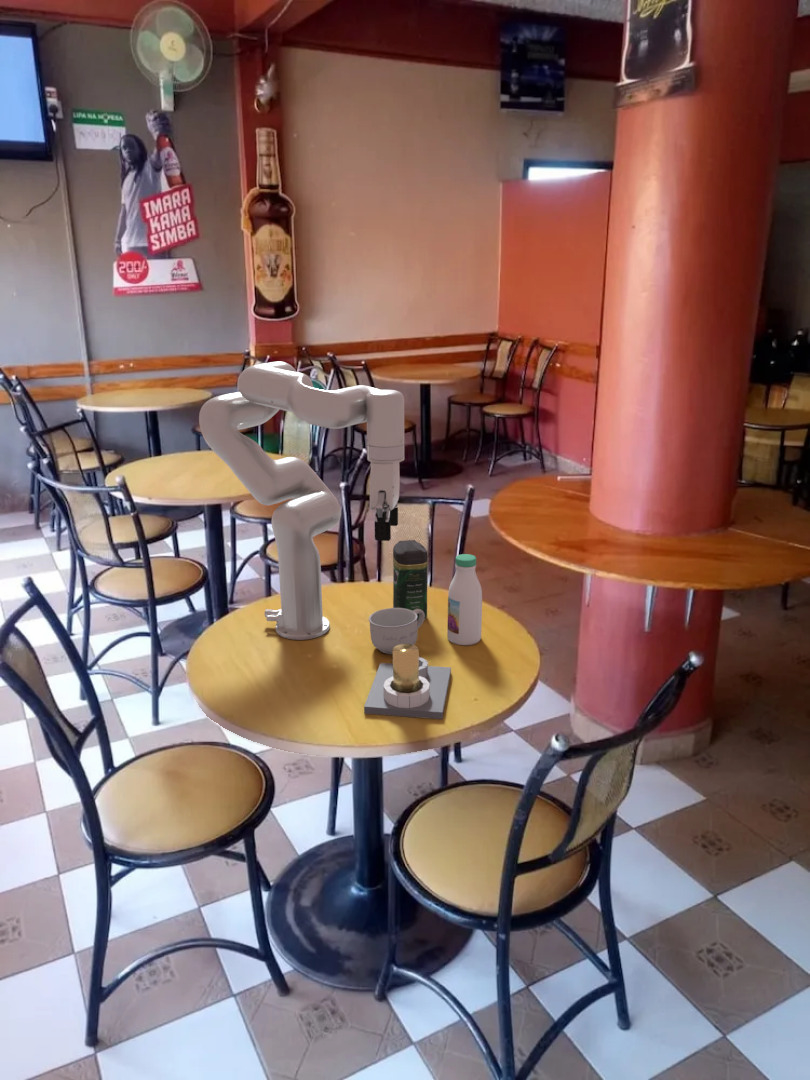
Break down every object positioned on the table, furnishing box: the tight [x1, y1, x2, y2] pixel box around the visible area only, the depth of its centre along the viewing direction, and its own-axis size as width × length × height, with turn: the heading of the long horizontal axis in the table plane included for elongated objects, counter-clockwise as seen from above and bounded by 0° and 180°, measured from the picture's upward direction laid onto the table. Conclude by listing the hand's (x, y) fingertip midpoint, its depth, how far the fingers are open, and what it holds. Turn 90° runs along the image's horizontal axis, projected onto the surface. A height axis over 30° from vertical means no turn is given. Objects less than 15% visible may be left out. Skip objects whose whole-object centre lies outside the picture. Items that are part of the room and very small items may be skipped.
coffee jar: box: [392, 539, 429, 621], centre depth 197 cm, size 10×8×19 cm
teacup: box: [368, 607, 426, 655], centre depth 183 cm, size 14×11×8 cm
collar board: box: [363, 656, 452, 720], centre depth 164 cm, size 15×18×4 cm
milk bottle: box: [446, 553, 483, 646], centre depth 184 cm, size 8×8×20 cm
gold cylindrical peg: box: [392, 644, 420, 693], centre depth 159 cm, size 5×5×10 cm
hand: (386, 532), depth 171 cm, fingers open, 9 cm apart
